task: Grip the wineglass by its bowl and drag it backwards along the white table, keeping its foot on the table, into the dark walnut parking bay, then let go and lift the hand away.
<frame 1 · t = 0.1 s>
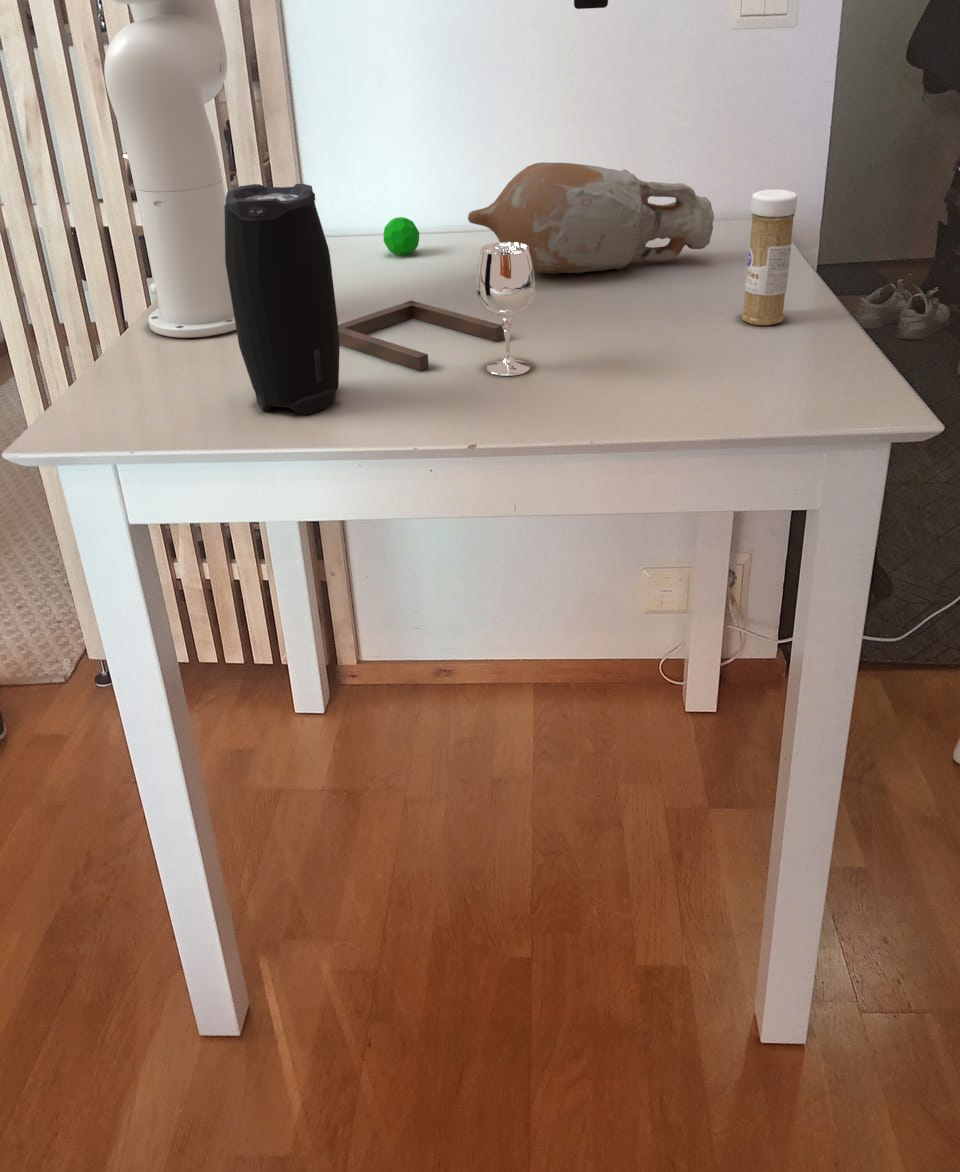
hand: (590, 4, 105), 31 cm above the table, tool pointing down, fingers open, 9 cm apart
sprinkles bottle: (762, 322, 118), on the table
amphora: (589, 271, 137), on the table
wineglass: (508, 370, 109), on the table
bay: (415, 340, 117), on the table
polyhedron: (402, 255, 148), on the table
portable speaker: (298, 403, 104), on the table
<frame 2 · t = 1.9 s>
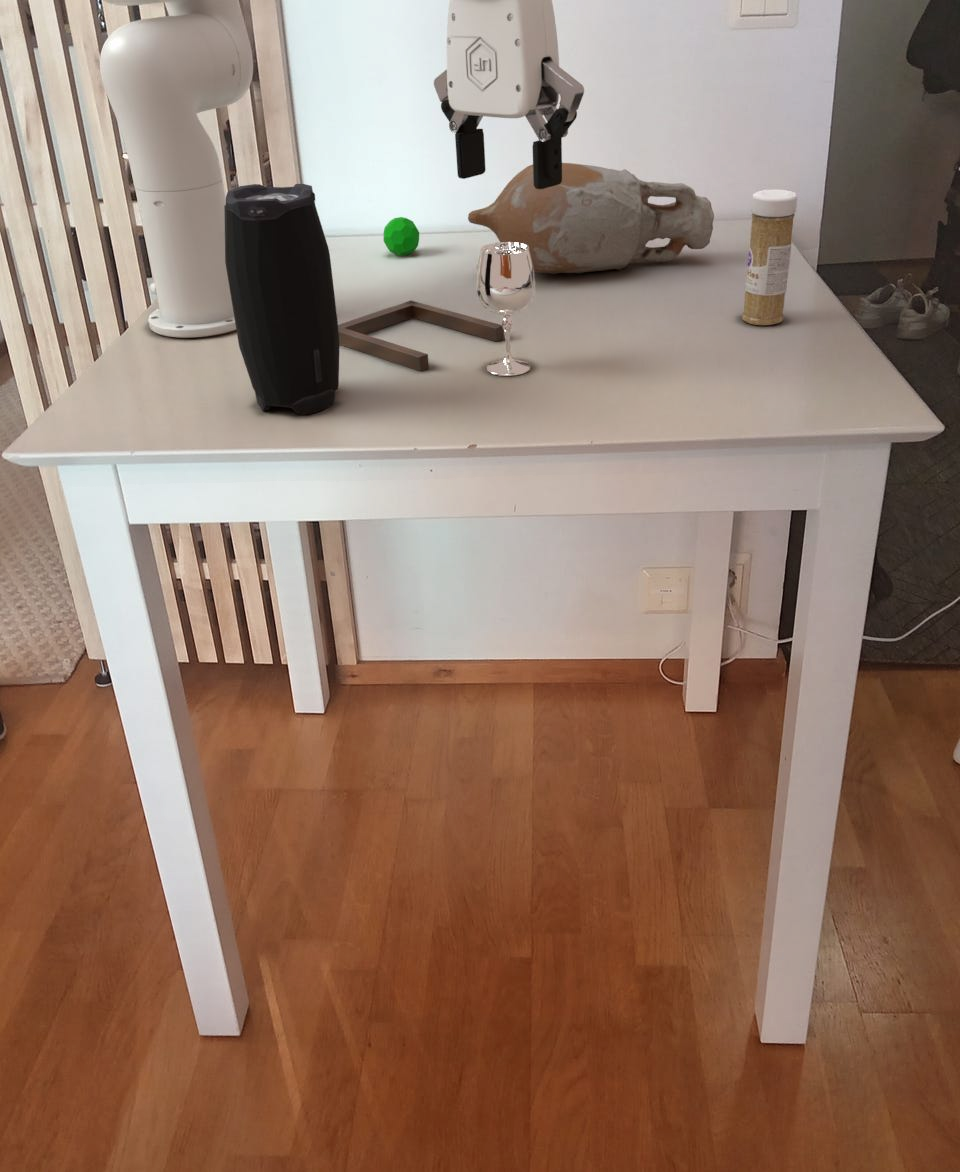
hand: (508, 181, 99), 18 cm above the table, tool pointing down, fingers open, 9 cm apart
nothing on the table moved.
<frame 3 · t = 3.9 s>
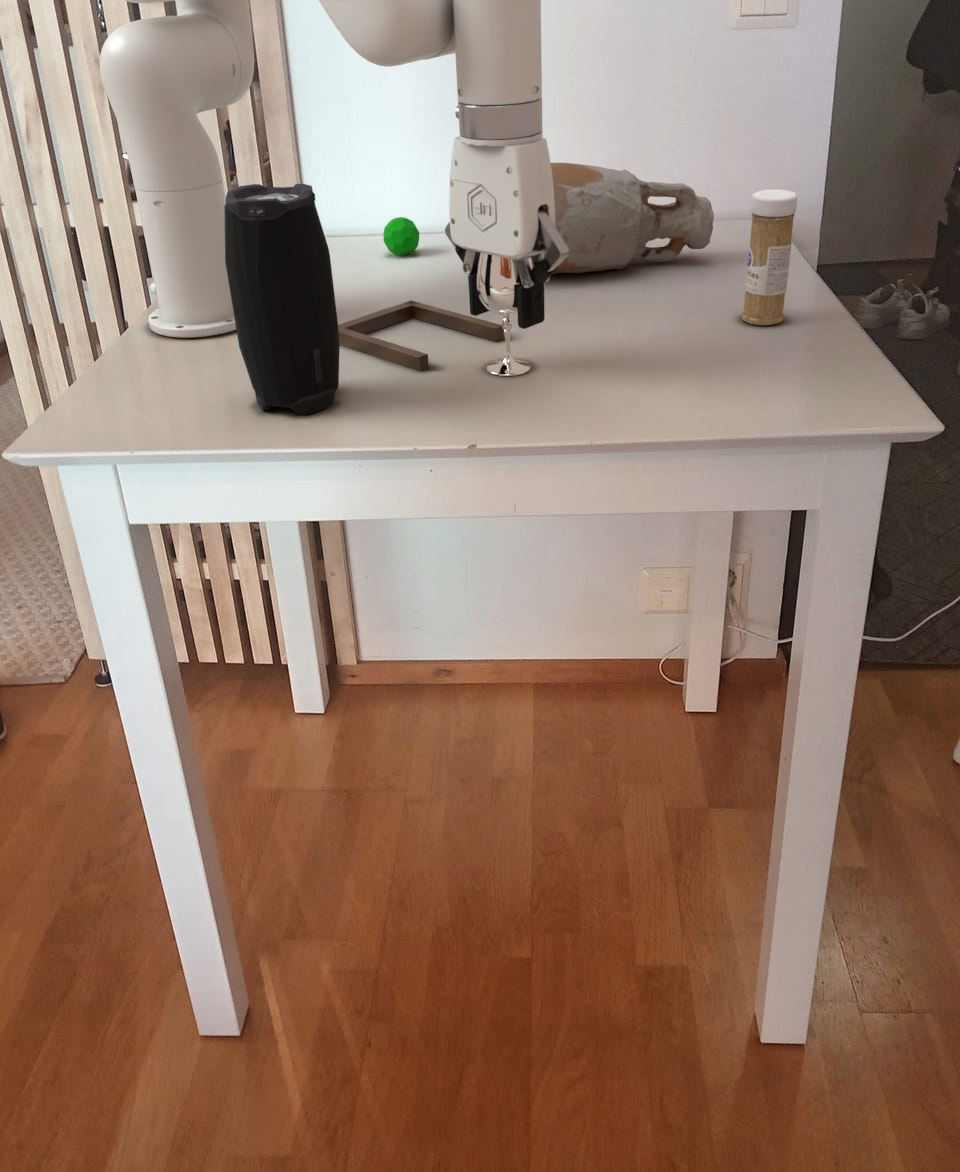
hand: (506, 316, 106), 5 cm above the table, tool pointing down, fingers closed on wineglass, 5 cm apart
wineglass: (508, 370, 109), on the table, touching gripper
everything else where it was.
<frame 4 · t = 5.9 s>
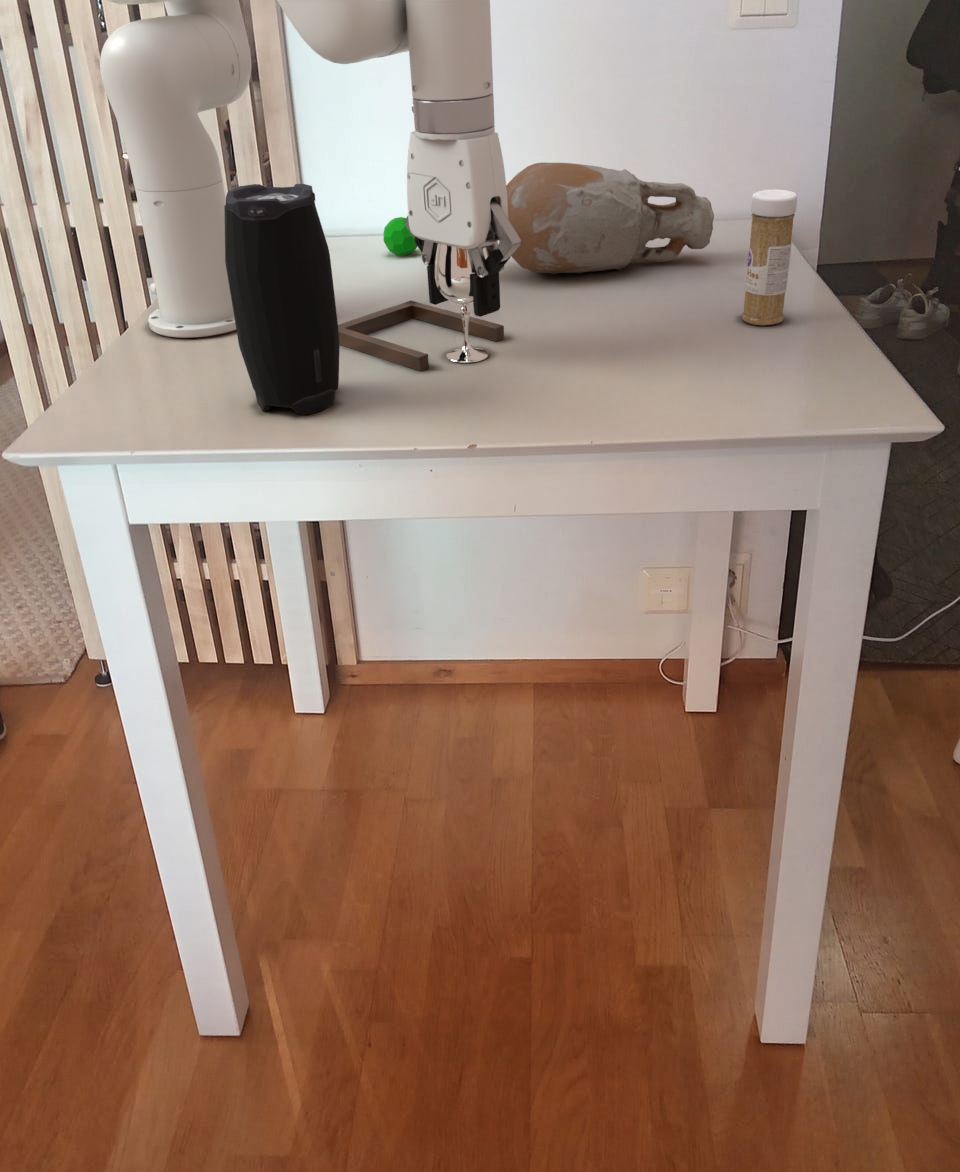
hand: (464, 305, 109), 5 cm above the table, tool pointing down, fingers closed on wineglass, 5 cm apart
wineglass: (467, 357, 112), on the table, touching gripper
everything else where it was.
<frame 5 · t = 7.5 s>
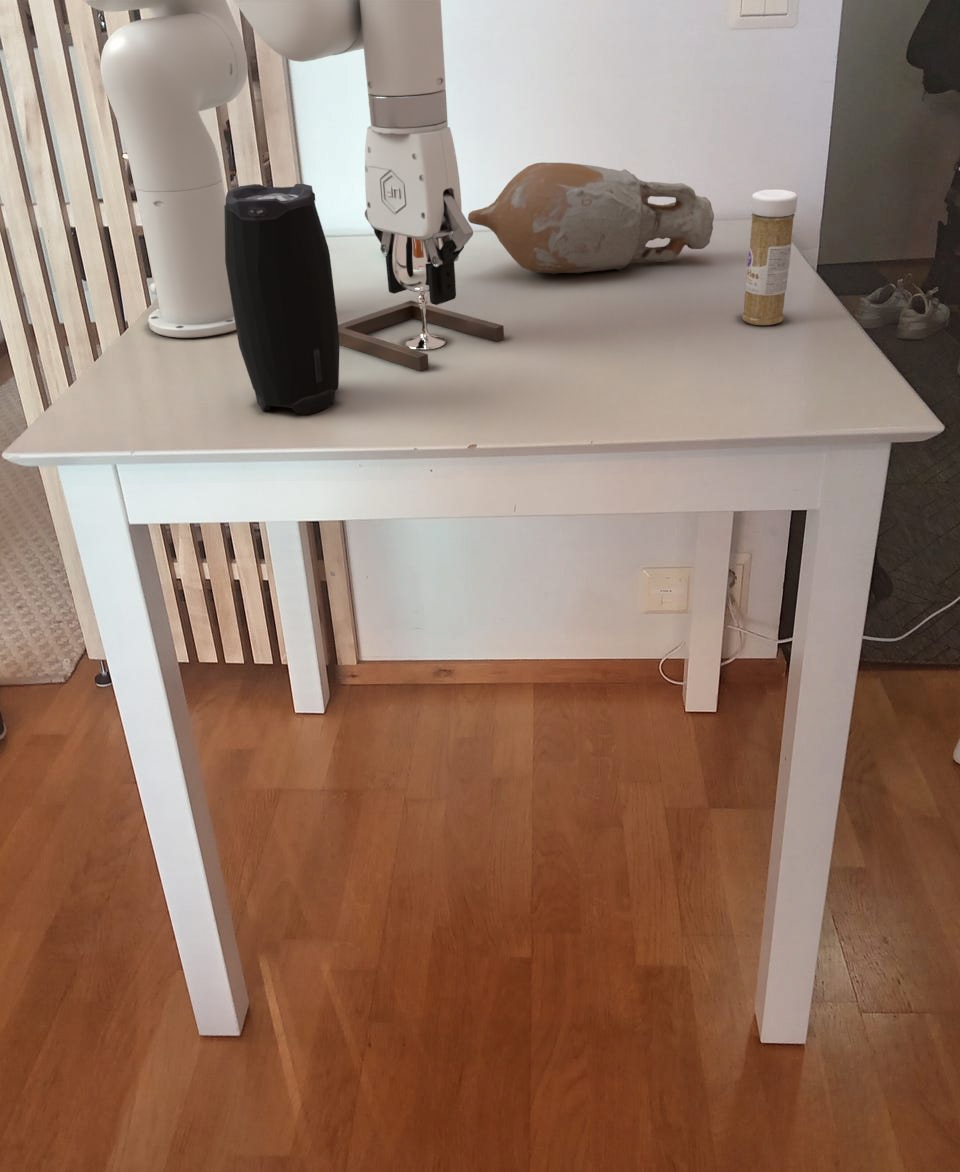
hand: (422, 294, 113), 5 cm above the table, tool pointing down, fingers closed on wineglass, 5 cm apart
wineglass: (425, 344, 116), on the table, touching gripper
everything else where it was.
when the fingers open (5 cm above the table, at t = 8.3 s): wineglass stays where it is, on the table.
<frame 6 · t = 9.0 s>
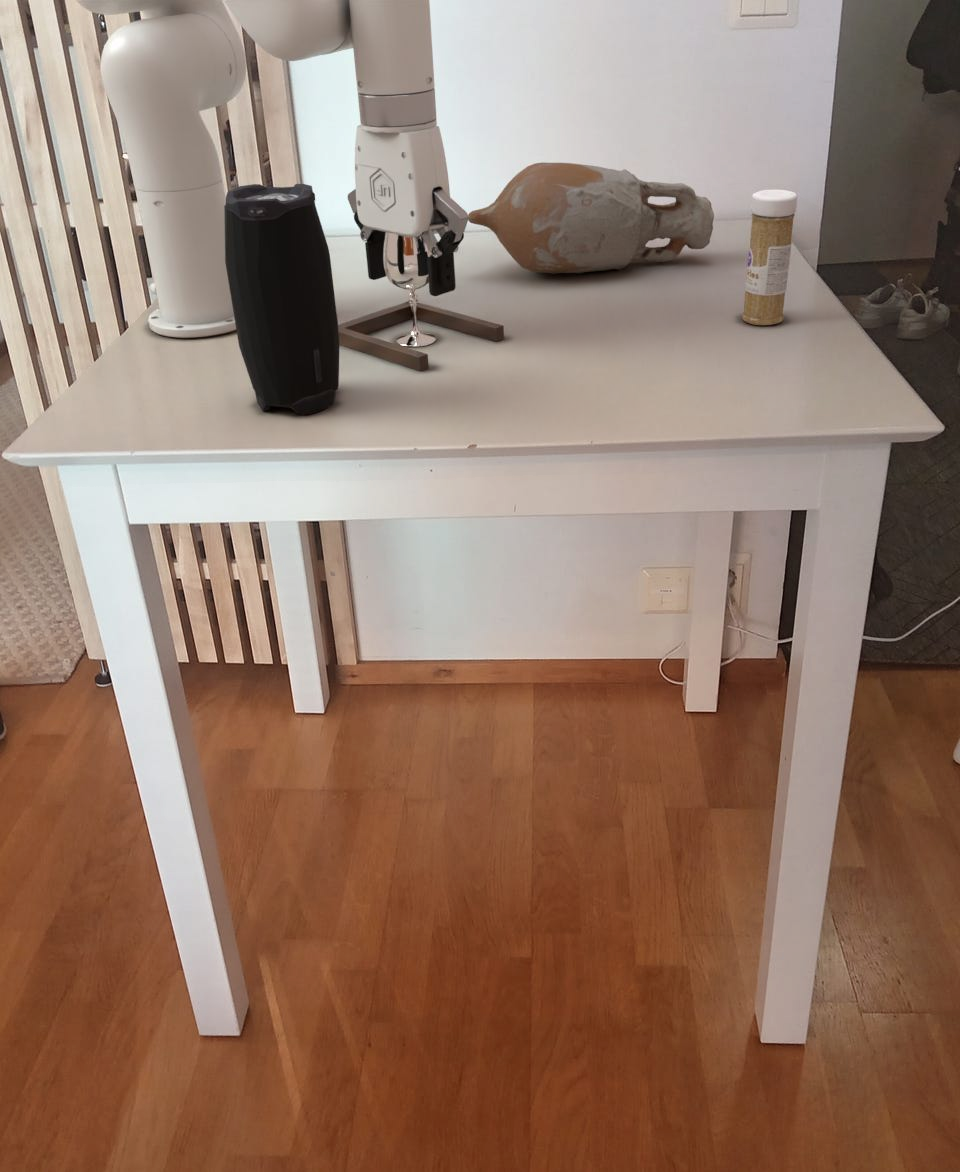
hand: (411, 284, 114), 6 cm above the table, tool pointing down, fingers open, 9 cm apart
wineglass: (416, 341, 117), on the table
everything else where it was.
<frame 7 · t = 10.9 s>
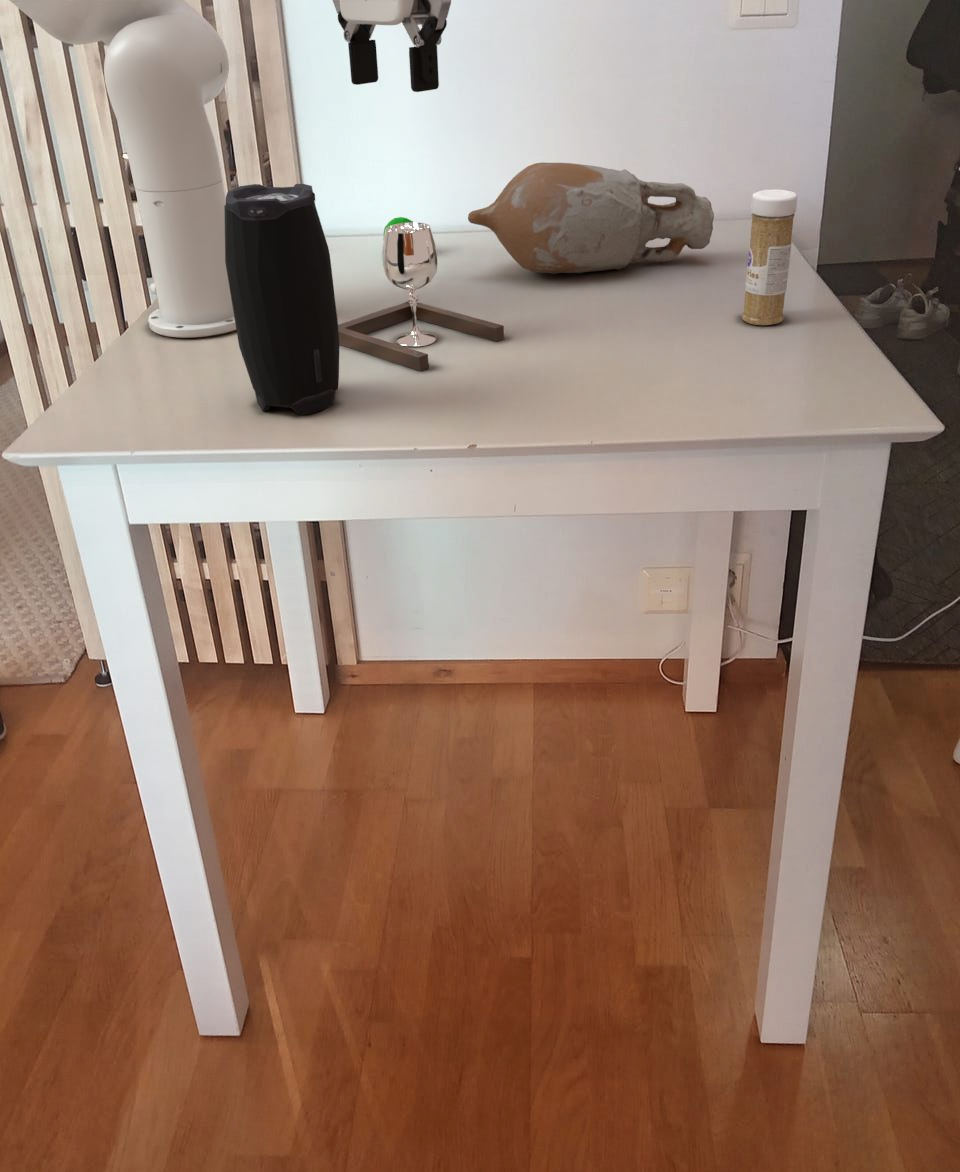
hand: (394, 86, 110), 25 cm above the table, tool pointing down, fingers open, 9 cm apart
nothing on the table moved.
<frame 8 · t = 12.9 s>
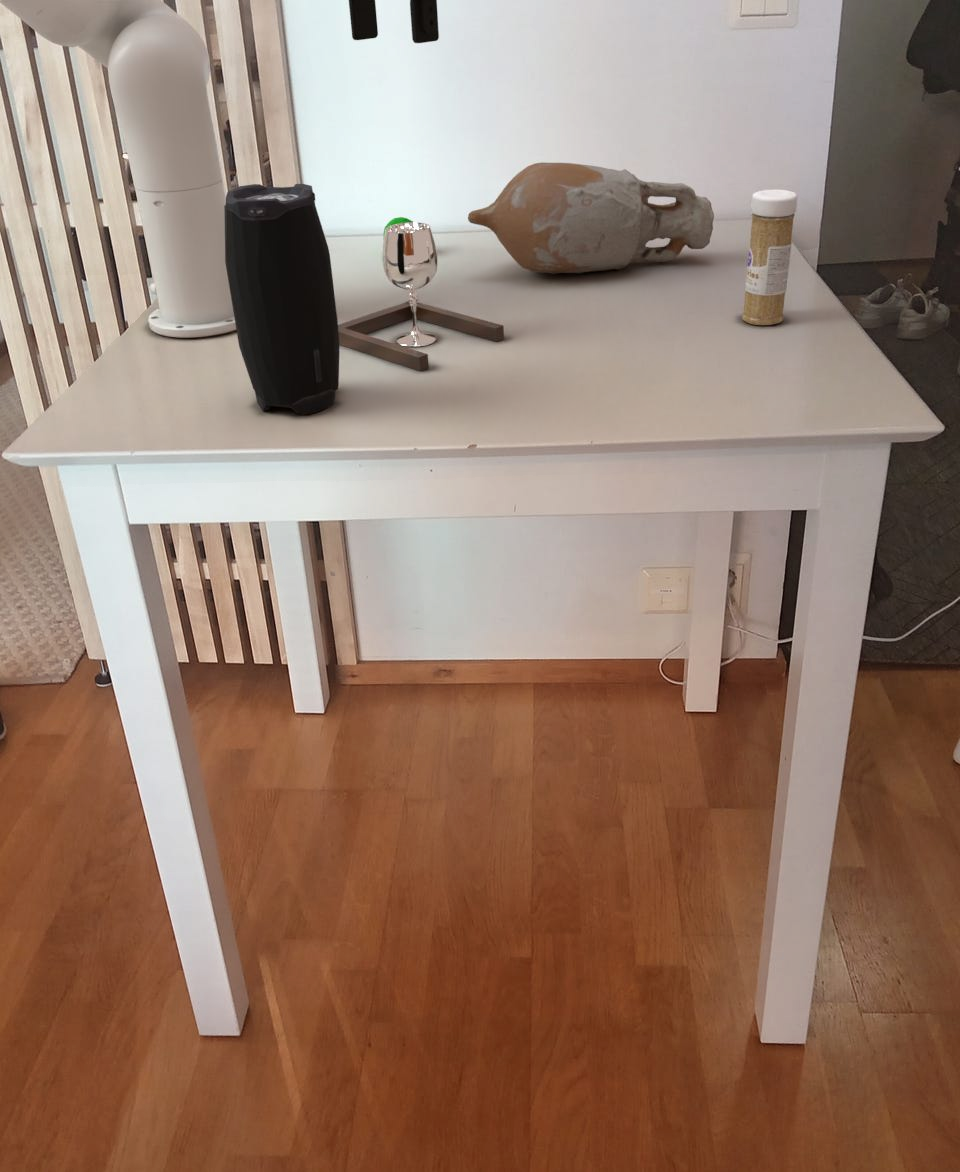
hand: (394, 40, 114), 28 cm above the table, tool pointing down, fingers open, 9 cm apart
nothing on the table moved.
at the end: wineglass inside the target area on the bay (0.4 cm from its centre), point 0.0 cm above the bay's base; wineglass tilted 0°; wineglass moved 13.9 cm from its start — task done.
